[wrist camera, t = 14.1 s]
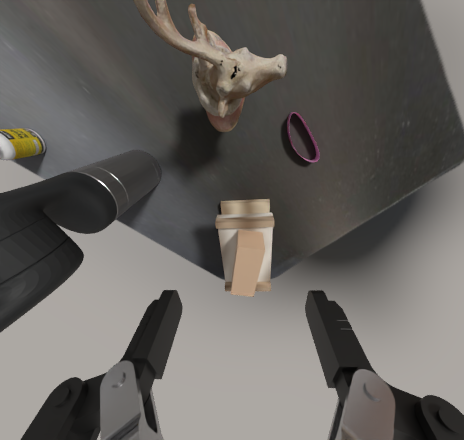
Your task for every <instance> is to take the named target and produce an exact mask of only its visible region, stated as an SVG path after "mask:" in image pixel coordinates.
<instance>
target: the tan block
mask: <svg viewBox="0 0 464 440" xmlns="http://www.w3.org/2000/svg"><path fill="white" fill-rule="evenodd" d="M264 253H265V245H264V239H263V232H255V231H246V230H238V236H237V243H236V251H235V258H234V265H233V272H232V284H231V294H232V295H242V296H250V297H254V293H255V289H256V285H257V281H258V277H259V273H260V269H261V265H262V261H263V257H264Z"/></svg>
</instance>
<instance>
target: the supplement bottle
mask: <svg viewBox="0 0 464 440" xmlns="http://www.w3.org/2000/svg"><path fill="white" fill-rule="evenodd" d="M45 149H46V146H45V143H44V141H43V139H42V138H41V136H40V135H39V134H38V133H36V132H35V131H33V130H31V129H26V128H23V129H5V130H0V159H1V160H12V159H18V158H23V157H28V156H34V155H39V154H42V153H44V152H45Z"/></svg>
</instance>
